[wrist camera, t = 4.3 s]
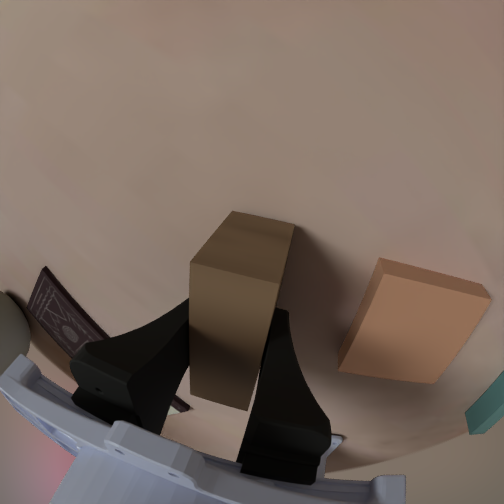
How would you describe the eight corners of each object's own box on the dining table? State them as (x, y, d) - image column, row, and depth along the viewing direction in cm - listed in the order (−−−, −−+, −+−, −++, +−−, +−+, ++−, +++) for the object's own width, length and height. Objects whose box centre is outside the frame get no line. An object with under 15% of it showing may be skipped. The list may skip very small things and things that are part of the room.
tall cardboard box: (266, 344, 17) (247, 411, 13) (219, 331, 18) (190, 394, 14) (294, 224, 14) (279, 284, 9) (232, 210, 14) (190, 262, 10)
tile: (428, 362, 17) (433, 383, 15) (338, 347, 18) (337, 371, 16) (478, 280, 13) (491, 299, 11) (377, 252, 14) (383, 273, 12)
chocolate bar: (42, 269, 20) (188, 410, 24) (49, 263, 21) (191, 403, 25) (26, 307, 24) (143, 419, 28) (31, 303, 25) (146, 413, 29)
